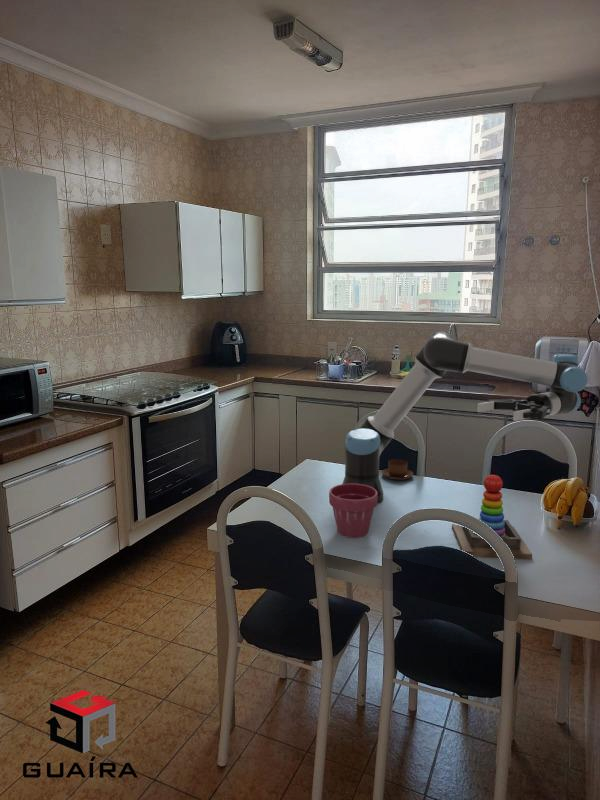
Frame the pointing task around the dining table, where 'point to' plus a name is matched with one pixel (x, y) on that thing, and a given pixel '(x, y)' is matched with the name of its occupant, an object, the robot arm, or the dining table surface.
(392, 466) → the cup and saucer
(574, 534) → the dining table surface
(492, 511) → the stacking toy
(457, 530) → the wooden divided tray
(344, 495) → the plant pot
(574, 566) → the dining table surface
